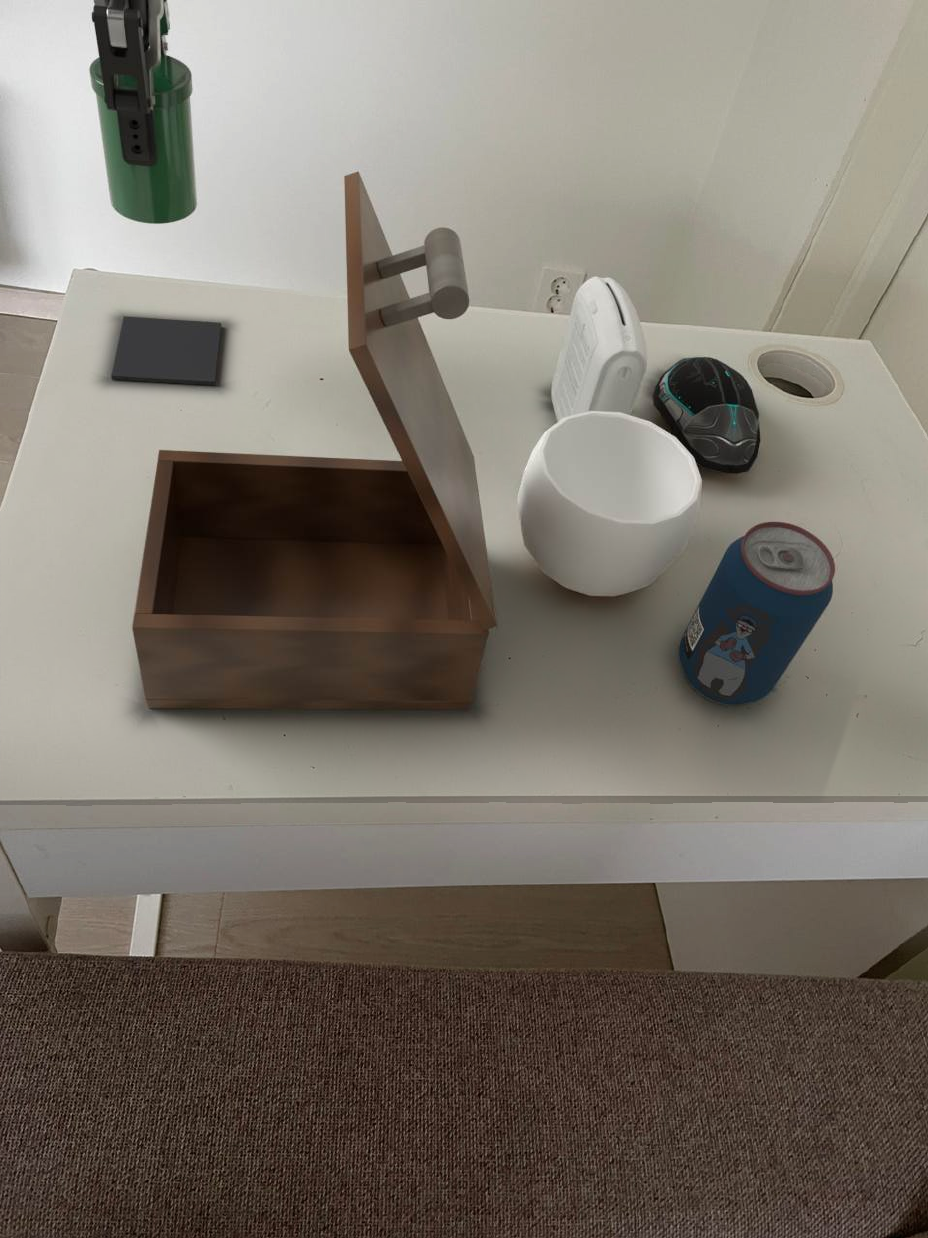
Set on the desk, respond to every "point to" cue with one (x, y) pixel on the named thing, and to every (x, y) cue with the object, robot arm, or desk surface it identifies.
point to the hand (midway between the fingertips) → (147, 136)
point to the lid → (417, 379)
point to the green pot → (172, 179)
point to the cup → (608, 502)
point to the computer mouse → (710, 413)
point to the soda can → (756, 613)
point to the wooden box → (299, 589)
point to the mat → (167, 351)
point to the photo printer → (600, 353)
